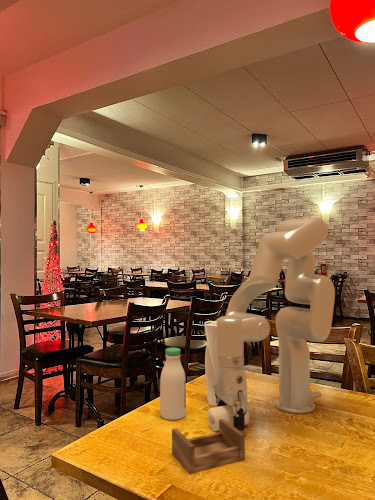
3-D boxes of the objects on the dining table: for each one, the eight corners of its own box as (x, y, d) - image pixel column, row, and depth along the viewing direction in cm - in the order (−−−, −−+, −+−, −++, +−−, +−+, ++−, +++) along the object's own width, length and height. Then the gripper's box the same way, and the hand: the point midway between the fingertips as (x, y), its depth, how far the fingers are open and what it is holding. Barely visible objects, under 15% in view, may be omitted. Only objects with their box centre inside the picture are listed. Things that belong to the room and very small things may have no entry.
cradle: (223, 441, 101) (223, 418, 101) (244, 459, 92) (244, 434, 92) (171, 453, 95) (171, 429, 95) (189, 473, 86) (189, 447, 86)
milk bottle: (182, 421, 113) (182, 352, 114) (157, 419, 115) (157, 351, 115) (188, 411, 121) (188, 346, 121) (163, 409, 122) (163, 345, 123)
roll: (240, 424, 114) (236, 402, 116) (251, 424, 109) (247, 401, 111) (209, 431, 109) (205, 408, 111) (218, 431, 104) (214, 407, 106)
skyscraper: (229, 406, 125) (229, 318, 126) (207, 407, 124) (206, 319, 125) (223, 397, 133) (223, 315, 134) (202, 398, 132) (202, 315, 133)
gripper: (259, 367, 103) (259, 434, 103) (225, 352, 119) (225, 410, 118) (235, 370, 100) (235, 439, 99) (203, 355, 116) (203, 414, 115)
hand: (230, 423), depth 109 cm, fingers open, 8 cm apart
